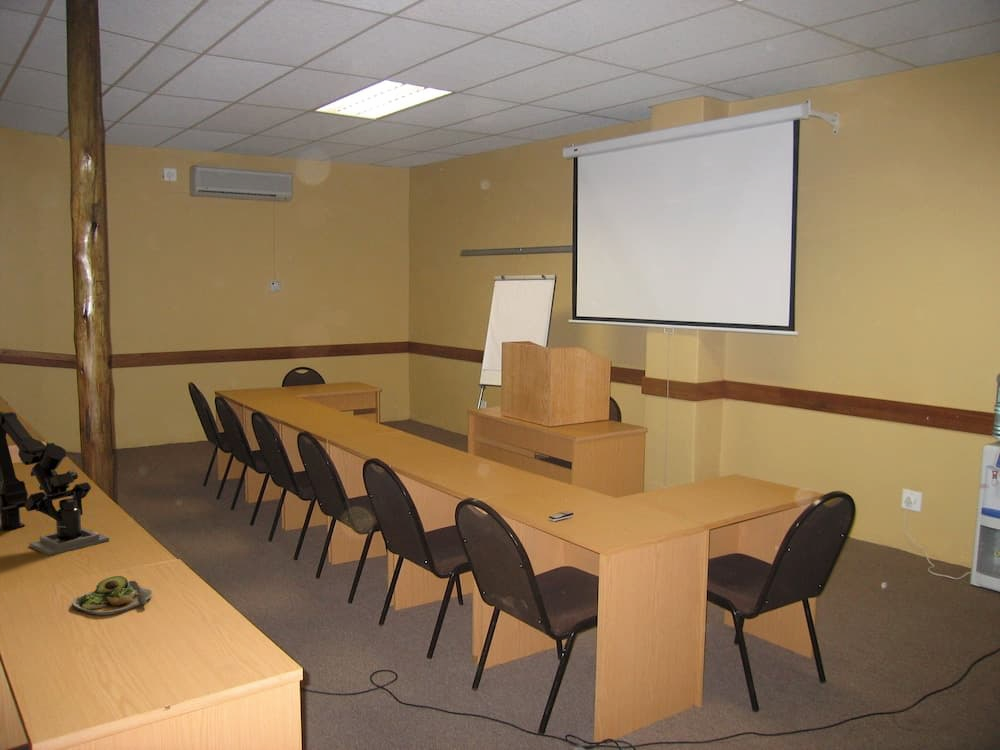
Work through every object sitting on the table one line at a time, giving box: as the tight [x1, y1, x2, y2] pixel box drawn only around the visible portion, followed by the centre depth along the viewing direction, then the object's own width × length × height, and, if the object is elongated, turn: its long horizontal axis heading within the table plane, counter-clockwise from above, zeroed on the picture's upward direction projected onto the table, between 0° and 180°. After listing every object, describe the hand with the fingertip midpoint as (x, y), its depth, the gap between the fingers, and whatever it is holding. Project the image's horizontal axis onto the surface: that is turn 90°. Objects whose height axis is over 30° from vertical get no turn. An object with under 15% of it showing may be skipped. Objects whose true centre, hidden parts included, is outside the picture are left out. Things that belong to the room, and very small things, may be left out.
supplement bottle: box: [55, 498, 82, 540], centre depth 244 cm, size 7×7×12 cm
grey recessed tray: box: [29, 526, 110, 556], centre depth 244 cm, size 14×18×2 cm
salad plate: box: [71, 575, 153, 616], centre depth 199 cm, size 19×18×5 cm
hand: (70, 517), depth 243 cm, fingers closed on supplement bottle, 7 cm apart
